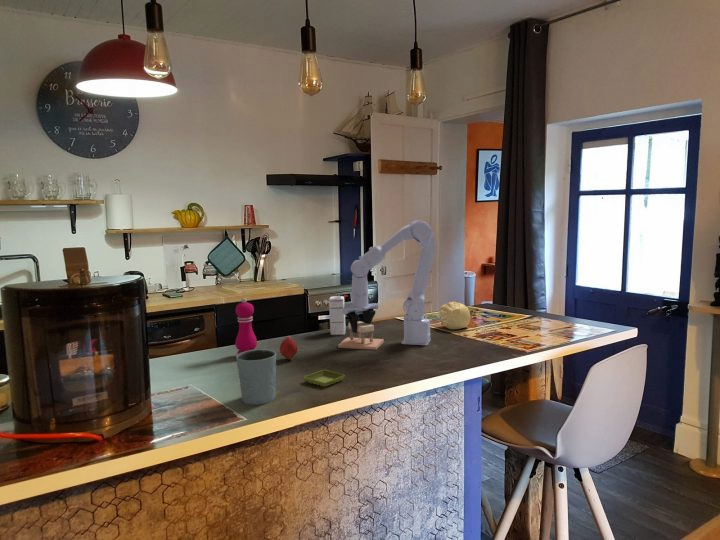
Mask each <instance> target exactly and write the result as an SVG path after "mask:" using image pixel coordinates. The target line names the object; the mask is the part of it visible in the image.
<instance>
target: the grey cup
mask: <svg viewBox="0 0 720 540" xmlns="http://www.w3.org/2000/svg"><path fill="white" fill-rule="evenodd" d="M235 359H236V362H237V363H236V364H237V368H238V378H239V383H240V384H239V386H240V392H241V400H242V402H243V403H244V404H246V405H251V406H259V404H260V405H265V403H266V404H269V403H271V402H273V401H274V400H275V399H276V383H277V382H276V380H277V379H276V377H277V376H276V375H277V374H276V372H277V371H276V370H277V369H276V368H277V352H276V351H274V350H271V349H263V348H262V349H259V348H258V349H257V348H255V350H249V351H245V352H242V353H240V354H238V355H237V354H236V357H235ZM274 398H275V399H274ZM272 400H273V401H272ZM268 402H269V403H268Z"/></svg>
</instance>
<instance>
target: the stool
mask: <svg viewBox="0 0 720 540" xmlns="http://www.w3.org/2000/svg"><path fill="white" fill-rule="evenodd" d="M347 326H348V329H349V337H350V340H353V338H354V332H352V328H351V324H350V322H348V325H347ZM357 326H358V327H357V334H358V335H357V338H361V344H365V338H366V335H365V334H366V333H369V338H370V342H373V339H374V333H373V332H374V331H375V325H374V324H372V323H371V324H368V323H364V321H360V320H358V324H357Z"/></svg>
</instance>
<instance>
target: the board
mask: <svg viewBox="0 0 720 540" xmlns="http://www.w3.org/2000/svg"><path fill="white" fill-rule="evenodd" d="M384 342H385V340H384V339H383V338H373V342H370V337H368V338H367V337H365V344H361V338H358V337H353V340H350V336H349V337H345V338H344V339H343V340H342V341H341V342H339V344H337V348H338V349H339V348H341V349H356V350H357V349H358V350H359V349H360V350H374V351H375V350H377V349H378V348H379V347H380V346H381V345H383V343H384Z"/></svg>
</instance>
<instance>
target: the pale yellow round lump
mask: <svg viewBox="0 0 720 540" xmlns="http://www.w3.org/2000/svg"><path fill="white" fill-rule="evenodd" d="M439 316H440V318H441V321H442V322H441V323H442V326H444V327H445V328H447V329H448V330H460V329H461V330H462V329H463V328H467V327H468V326H469V324H470V323H471V312H470V310H469V308H468V306H467V305H465V304H463V303H461V302H456V301H450V302H447V303H444V304H443V305H441V306H439Z"/></svg>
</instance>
